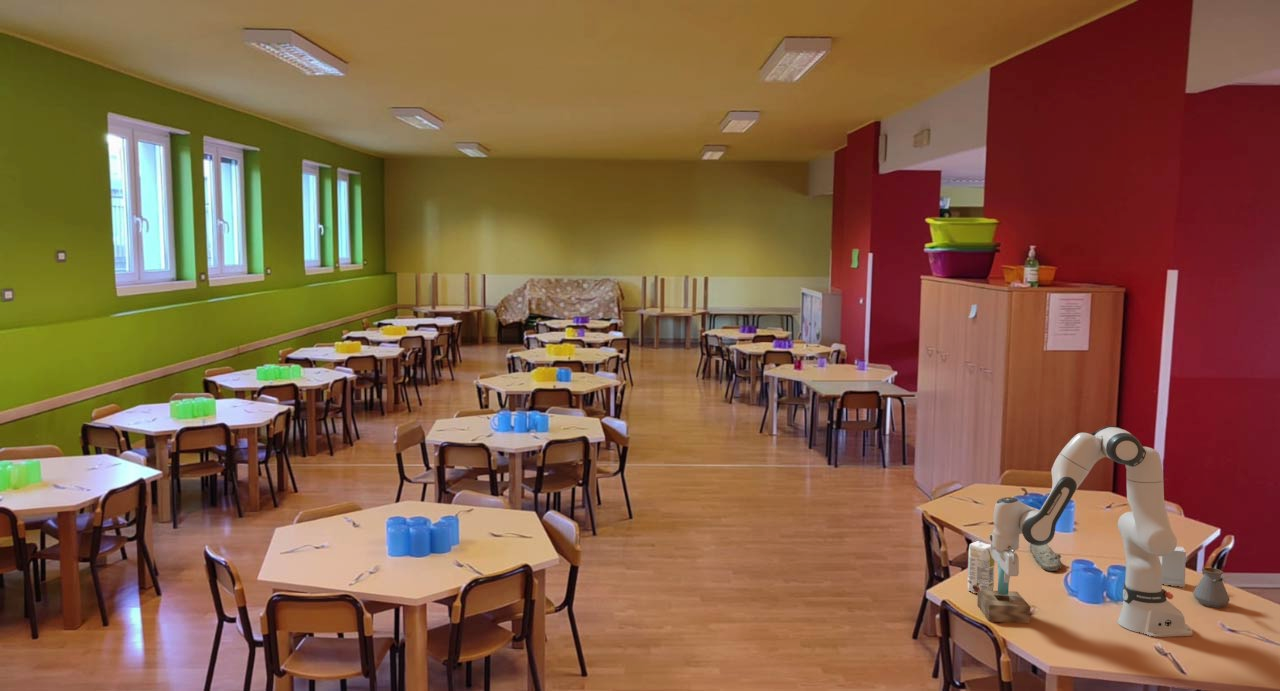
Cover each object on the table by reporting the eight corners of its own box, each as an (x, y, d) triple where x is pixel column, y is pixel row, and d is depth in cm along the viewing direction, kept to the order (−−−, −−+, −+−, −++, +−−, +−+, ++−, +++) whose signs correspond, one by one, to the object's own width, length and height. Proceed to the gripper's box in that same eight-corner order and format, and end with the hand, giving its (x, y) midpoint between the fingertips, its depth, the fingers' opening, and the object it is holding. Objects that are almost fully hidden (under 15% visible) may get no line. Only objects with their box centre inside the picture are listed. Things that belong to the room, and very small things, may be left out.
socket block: (1016, 607, 318) (1017, 591, 317) (1029, 622, 304) (1030, 606, 303) (977, 605, 319) (977, 590, 319) (988, 621, 305) (989, 605, 305)
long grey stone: (1049, 550, 386) (1025, 549, 388) (1049, 538, 386) (1025, 538, 388) (1066, 573, 352) (1040, 572, 355) (1066, 560, 352) (1039, 559, 354)
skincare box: (1182, 583, 342) (1184, 546, 340) (1185, 588, 336) (1187, 551, 335) (1157, 580, 345) (1160, 544, 344) (1160, 585, 340) (1162, 548, 338)
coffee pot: (1189, 595, 329) (1192, 557, 327) (1225, 600, 324) (1228, 562, 323) (1200, 616, 309) (1203, 576, 308) (1238, 622, 305) (1241, 581, 303)
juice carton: (985, 597, 327) (987, 549, 325) (964, 591, 334) (966, 543, 332) (995, 592, 332) (997, 545, 330) (974, 586, 338) (976, 539, 337)
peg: (1006, 591, 312) (1008, 559, 311) (1009, 595, 309) (1011, 562, 308) (996, 590, 313) (997, 559, 312) (999, 594, 309) (1000, 562, 308)
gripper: (1024, 552, 298) (1022, 590, 300) (1005, 533, 319) (1003, 570, 320) (1005, 551, 299) (1004, 589, 300) (988, 533, 319) (986, 569, 321)
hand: (1003, 579), depth 310 cm, fingers closed on peg, 4 cm apart
